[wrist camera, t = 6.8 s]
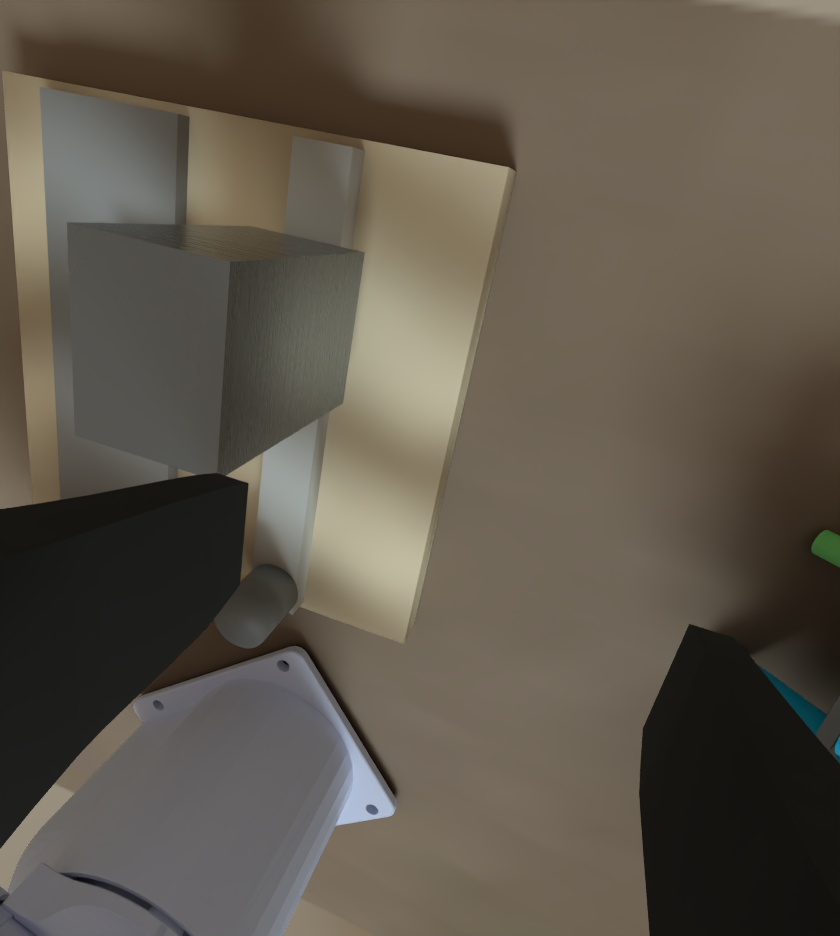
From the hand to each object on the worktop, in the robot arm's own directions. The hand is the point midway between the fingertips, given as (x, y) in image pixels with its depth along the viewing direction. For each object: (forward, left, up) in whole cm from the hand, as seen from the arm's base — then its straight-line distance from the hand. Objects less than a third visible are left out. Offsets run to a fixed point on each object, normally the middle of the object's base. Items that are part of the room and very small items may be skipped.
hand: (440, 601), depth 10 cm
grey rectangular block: (-5, +7, -7) cm, 11 cm away
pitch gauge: (-8, +6, -9) cm, 13 cm away
